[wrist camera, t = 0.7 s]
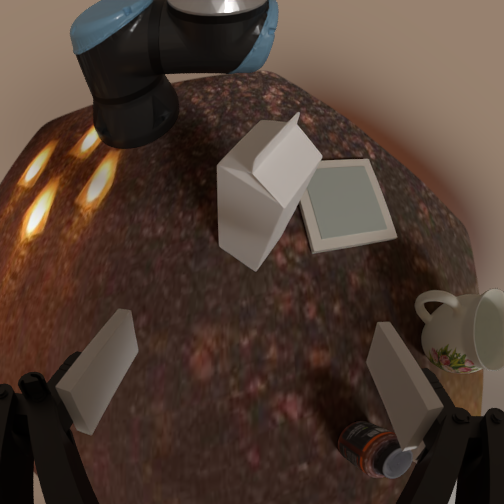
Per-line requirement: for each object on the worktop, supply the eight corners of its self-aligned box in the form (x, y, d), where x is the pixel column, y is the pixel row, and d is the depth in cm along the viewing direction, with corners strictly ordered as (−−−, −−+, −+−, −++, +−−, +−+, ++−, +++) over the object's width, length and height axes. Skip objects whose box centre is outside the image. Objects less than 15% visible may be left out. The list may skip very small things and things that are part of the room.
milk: (218, 246, 39) (212, 138, 18) (244, 212, 41) (264, 90, 20) (256, 273, 38) (294, 186, 17) (281, 237, 40) (336, 130, 19)
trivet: (288, 166, 44) (289, 162, 42) (365, 162, 46) (368, 158, 45) (312, 253, 40) (314, 251, 39) (394, 239, 42) (397, 237, 41)
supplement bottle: (355, 463, 31) (394, 493, 20) (327, 445, 32) (363, 475, 21) (382, 431, 33) (428, 451, 22) (355, 412, 34) (400, 430, 23)
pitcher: (408, 273, 40) (468, 245, 27) (473, 332, 38) (532, 321, 25) (377, 335, 37) (440, 327, 24) (449, 390, 35) (511, 394, 22)
